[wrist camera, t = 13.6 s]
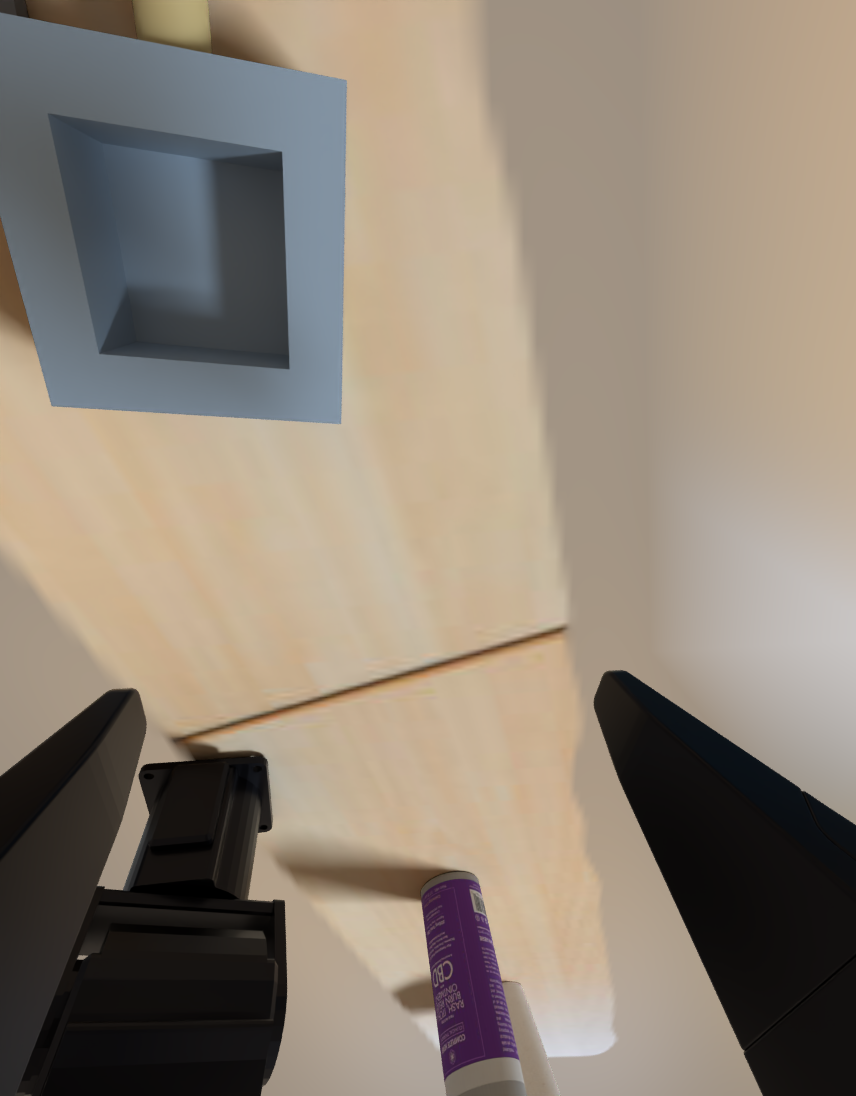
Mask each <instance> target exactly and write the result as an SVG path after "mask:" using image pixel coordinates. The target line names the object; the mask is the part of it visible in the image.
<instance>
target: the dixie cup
mask: <svg viewBox="0 0 856 1096" xmlns="http://www.w3.org/2000/svg"><path fill="white" fill-rule="evenodd" d="M502 985H503V990H504V994H505V998H506V1003H507V1007H508V1011H509V1016H510V1020H511V1025H512V1029H513V1033H514V1038H515V1042H516V1046H517V1051H518V1055H519V1060H520V1065H521V1070H522V1074H523V1079H524V1084H525V1089H526V1094H527V1096H561V1095H560V1092H559V1089H558V1086H557V1083H556V1081H555V1078H554V1075H553V1072H552V1069H551V1066H550V1063H549V1061H548V1058H547V1055H546V1052H545V1049H544V1046H543V1044H542V1041H541V1038H540V1035H539V1032H538V1029H537V1027H536V1024H535V1021H534V1018H533V1015H532V1012H531V1010H530V1007H529V1004H528V1001H527V998H526V995H525V993H524V990H523V987H522V985H521V984H519V983H516V982H502Z"/></svg>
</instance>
